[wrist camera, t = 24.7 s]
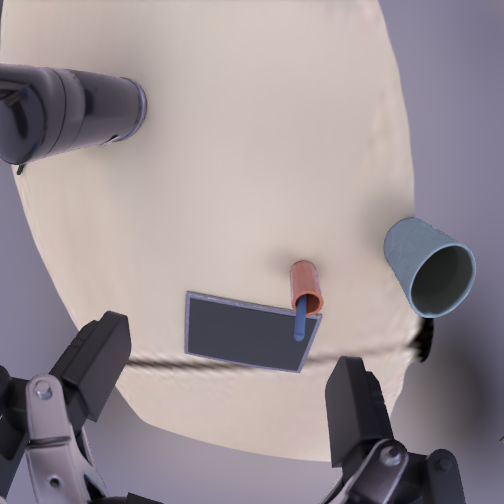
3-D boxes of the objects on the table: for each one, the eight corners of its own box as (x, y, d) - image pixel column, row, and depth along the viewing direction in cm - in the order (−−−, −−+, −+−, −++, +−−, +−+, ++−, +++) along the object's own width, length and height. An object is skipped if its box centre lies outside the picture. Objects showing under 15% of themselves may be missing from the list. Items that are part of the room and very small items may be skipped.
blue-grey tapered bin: (376, 275, 42) (402, 323, 31) (380, 212, 37) (415, 247, 26) (431, 268, 40) (466, 311, 29) (438, 209, 36) (483, 240, 25)
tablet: (185, 350, 51) (184, 353, 51) (187, 290, 45) (185, 293, 45) (299, 370, 51) (299, 373, 51) (321, 314, 45) (322, 317, 45)
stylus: (298, 276, 42) (292, 342, 31) (301, 269, 41) (294, 335, 30) (306, 277, 42) (302, 344, 31) (309, 271, 41) (305, 337, 30)
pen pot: (287, 281, 43) (288, 313, 36) (293, 258, 41) (296, 288, 34) (312, 285, 43) (318, 318, 36) (319, 263, 41) (326, 293, 34)
